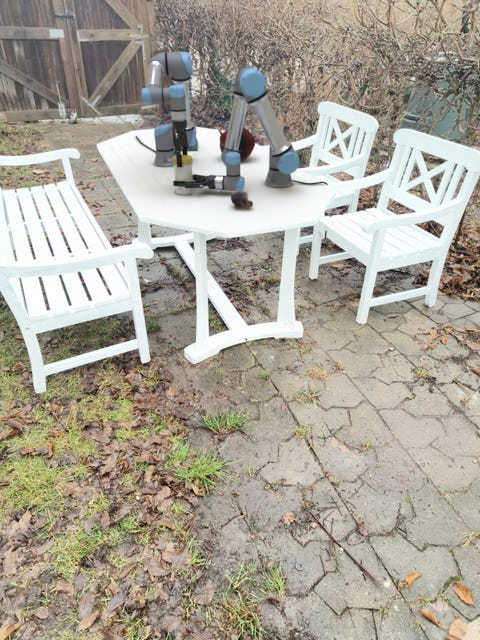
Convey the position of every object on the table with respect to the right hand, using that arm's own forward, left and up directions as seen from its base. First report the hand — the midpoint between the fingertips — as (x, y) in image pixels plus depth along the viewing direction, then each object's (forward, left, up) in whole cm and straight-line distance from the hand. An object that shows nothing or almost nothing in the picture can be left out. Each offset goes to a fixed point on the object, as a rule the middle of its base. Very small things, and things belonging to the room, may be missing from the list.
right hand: (176, 180), depth 246 cm
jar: (-4, +2, -6) cm, 7 cm away
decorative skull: (-47, -55, -6) cm, 72 cm away
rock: (-28, +34, -6) cm, 44 cm away
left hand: (-4, +2, +9) cm, 10 cm away
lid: (-4, +2, +12) cm, 13 cm away
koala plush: (-18, -93, -6) cm, 95 cm away
